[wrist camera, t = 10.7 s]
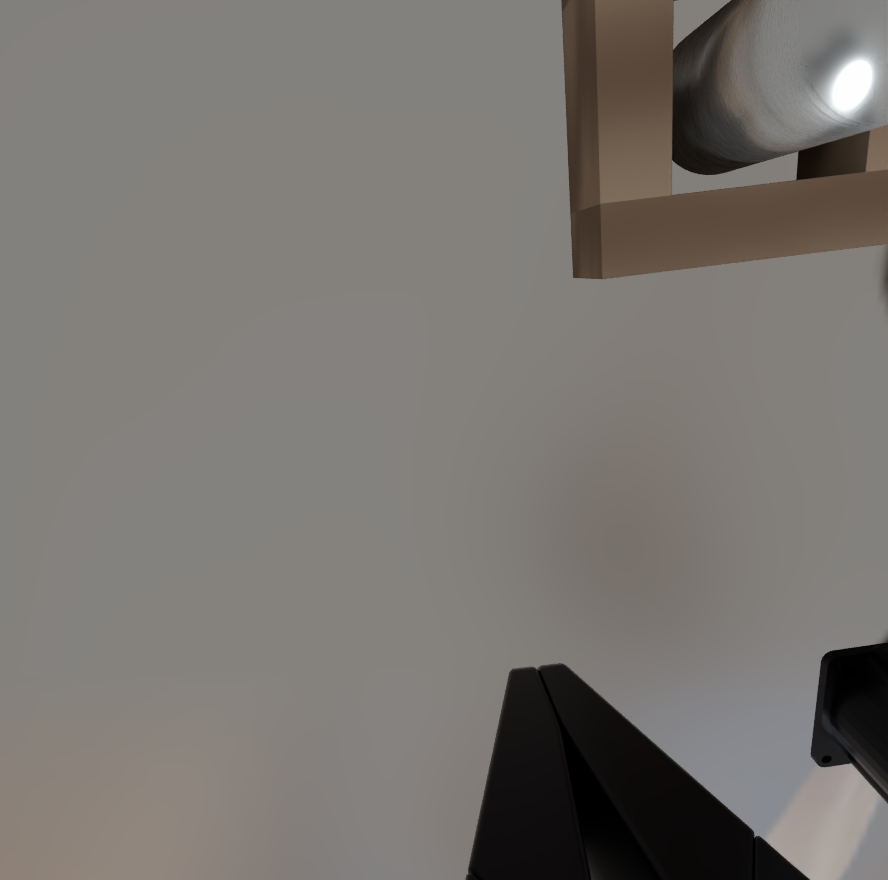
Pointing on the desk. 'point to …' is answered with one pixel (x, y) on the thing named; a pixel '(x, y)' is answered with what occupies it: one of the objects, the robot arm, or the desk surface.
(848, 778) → the desk surface
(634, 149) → the frame
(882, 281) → the desk surface
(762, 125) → the metal cylinder
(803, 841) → the desk surface
